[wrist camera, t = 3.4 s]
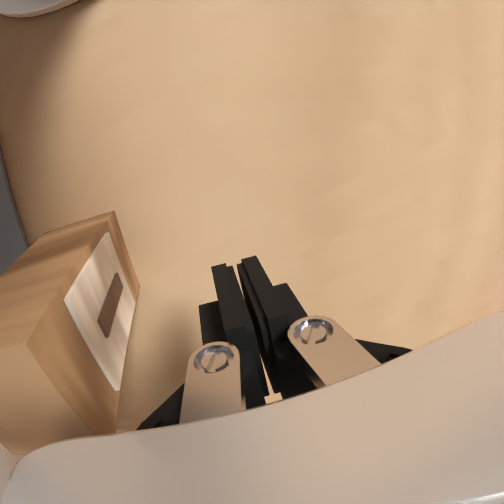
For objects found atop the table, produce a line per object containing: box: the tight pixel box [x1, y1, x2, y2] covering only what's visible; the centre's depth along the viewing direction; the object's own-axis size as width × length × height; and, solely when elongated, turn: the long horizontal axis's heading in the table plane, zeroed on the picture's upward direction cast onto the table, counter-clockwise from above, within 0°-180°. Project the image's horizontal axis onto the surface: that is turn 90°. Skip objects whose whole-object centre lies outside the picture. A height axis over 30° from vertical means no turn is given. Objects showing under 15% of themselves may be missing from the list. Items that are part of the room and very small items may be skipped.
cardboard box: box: [0, 211, 140, 455], centre depth 12 cm, size 5×5×12 cm
